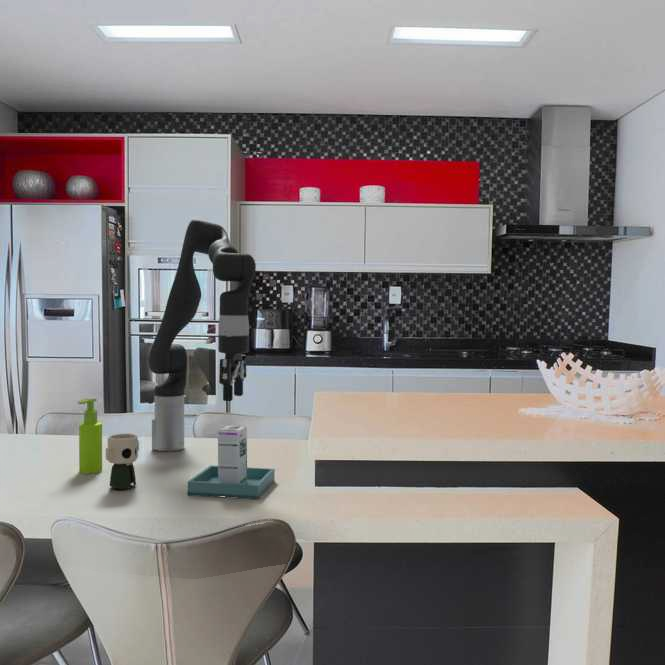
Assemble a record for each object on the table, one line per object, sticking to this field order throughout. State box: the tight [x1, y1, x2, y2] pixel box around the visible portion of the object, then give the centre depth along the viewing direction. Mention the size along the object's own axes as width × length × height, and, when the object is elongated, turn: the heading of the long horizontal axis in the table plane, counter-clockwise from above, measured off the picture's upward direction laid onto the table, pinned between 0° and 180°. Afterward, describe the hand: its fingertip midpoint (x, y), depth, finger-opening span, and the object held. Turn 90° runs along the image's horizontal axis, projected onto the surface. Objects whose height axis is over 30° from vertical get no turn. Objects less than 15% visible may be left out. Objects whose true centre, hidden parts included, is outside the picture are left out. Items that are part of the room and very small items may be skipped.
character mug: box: [105, 433, 140, 490], centre depth 156 cm, size 11×7×13 cm, turn 155°
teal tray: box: [187, 464, 276, 500], centre depth 157 cm, size 18×16×3 cm
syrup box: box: [217, 425, 248, 484], centre depth 157 cm, size 6×6×14 cm
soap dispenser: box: [77, 398, 103, 475], centre depth 170 cm, size 6×7×20 cm
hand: (233, 398), depth 156 cm, fingers open, 8 cm apart
